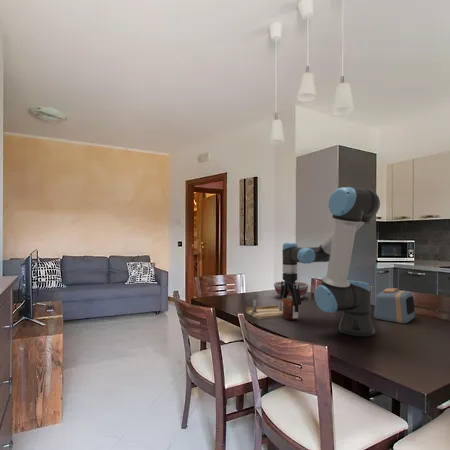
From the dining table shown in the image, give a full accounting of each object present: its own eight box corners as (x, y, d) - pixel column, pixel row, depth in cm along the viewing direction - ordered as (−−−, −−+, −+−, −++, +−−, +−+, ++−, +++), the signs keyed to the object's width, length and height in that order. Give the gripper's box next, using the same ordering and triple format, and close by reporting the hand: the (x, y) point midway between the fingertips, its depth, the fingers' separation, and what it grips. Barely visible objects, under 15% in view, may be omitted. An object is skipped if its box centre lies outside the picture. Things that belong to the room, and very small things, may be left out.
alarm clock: (407, 325, 168) (406, 292, 168) (372, 319, 179) (372, 288, 179) (416, 318, 180) (415, 288, 180) (383, 313, 191) (383, 285, 191)
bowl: (274, 295, 247) (274, 281, 248) (306, 295, 244) (306, 281, 244) (274, 301, 225) (274, 286, 225) (310, 302, 222) (310, 286, 222)
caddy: (292, 315, 186) (292, 300, 186) (258, 319, 179) (258, 302, 179) (277, 309, 201) (277, 295, 201) (245, 312, 193) (245, 297, 194)
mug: (282, 316, 185) (282, 296, 185) (298, 317, 184) (298, 297, 184) (281, 322, 174) (281, 301, 174) (298, 323, 172) (298, 302, 172)
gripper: (308, 274, 170) (308, 320, 170) (284, 269, 191) (284, 310, 191) (295, 275, 167) (295, 321, 167) (272, 270, 188) (272, 311, 188)
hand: (289, 315), depth 179 cm, fingers closed on mug, 10 cm apart
